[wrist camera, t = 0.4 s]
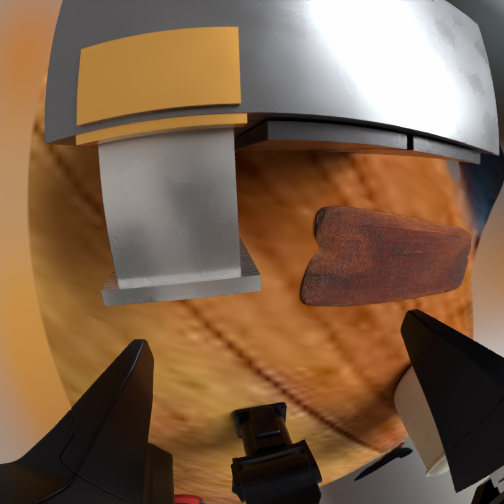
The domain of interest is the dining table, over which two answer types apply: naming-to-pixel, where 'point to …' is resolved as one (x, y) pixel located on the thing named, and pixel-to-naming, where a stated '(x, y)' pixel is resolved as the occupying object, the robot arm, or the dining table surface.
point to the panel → (173, 218)
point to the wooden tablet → (382, 258)
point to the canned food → (187, 499)
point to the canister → (420, 423)
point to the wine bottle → (158, 477)
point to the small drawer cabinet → (275, 75)
